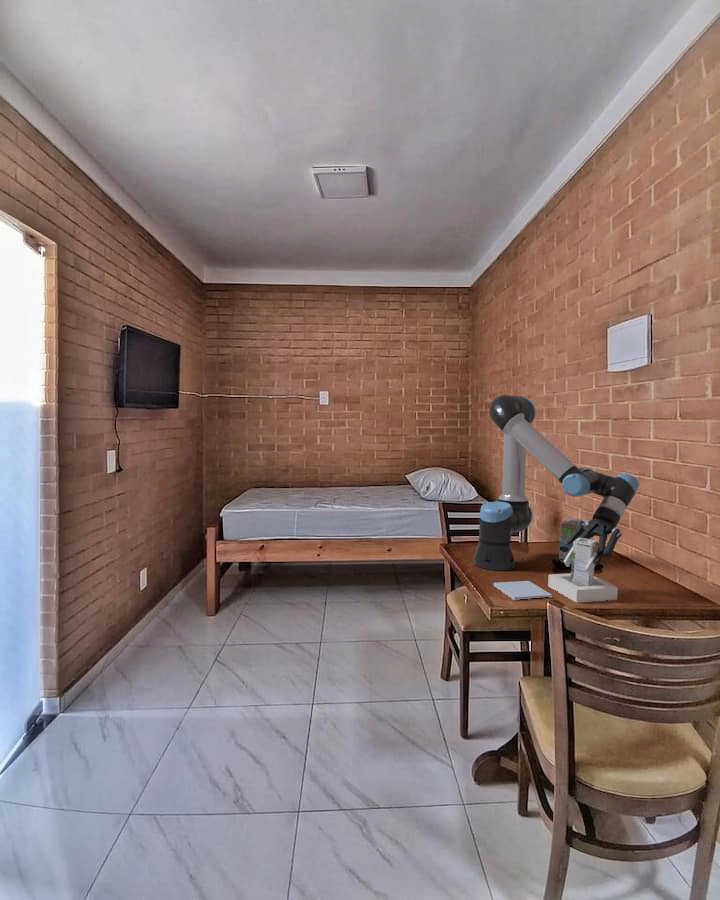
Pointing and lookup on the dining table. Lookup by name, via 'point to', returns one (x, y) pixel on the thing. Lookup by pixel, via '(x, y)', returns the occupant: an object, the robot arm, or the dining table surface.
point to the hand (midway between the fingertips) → (576, 567)
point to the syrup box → (582, 561)
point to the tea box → (568, 534)
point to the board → (522, 590)
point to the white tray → (583, 589)
